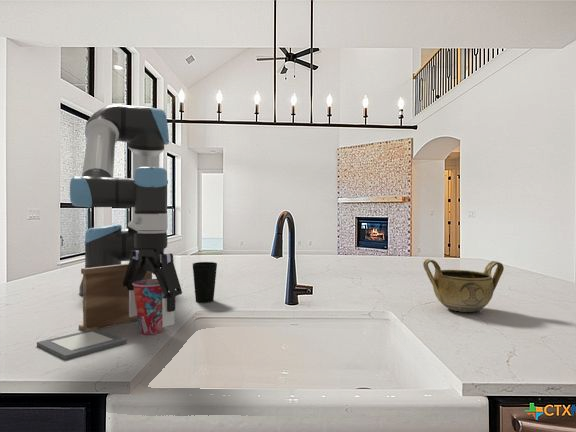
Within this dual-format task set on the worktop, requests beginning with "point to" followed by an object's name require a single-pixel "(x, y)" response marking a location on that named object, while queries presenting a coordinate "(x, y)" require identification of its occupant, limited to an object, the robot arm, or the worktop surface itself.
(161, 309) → the cup
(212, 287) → the cup
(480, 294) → the ceramic bowl
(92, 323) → the screen
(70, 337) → the mat
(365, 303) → the worktop surface
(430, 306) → the worktop surface
